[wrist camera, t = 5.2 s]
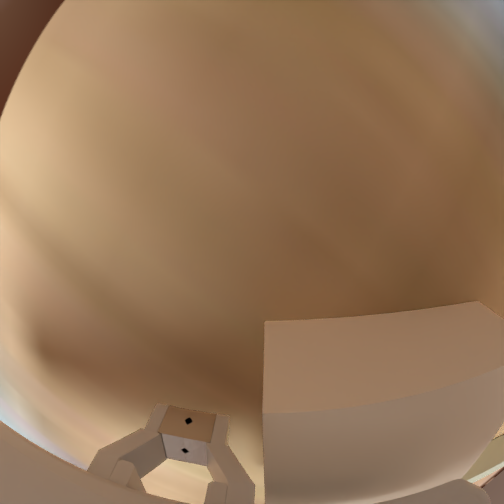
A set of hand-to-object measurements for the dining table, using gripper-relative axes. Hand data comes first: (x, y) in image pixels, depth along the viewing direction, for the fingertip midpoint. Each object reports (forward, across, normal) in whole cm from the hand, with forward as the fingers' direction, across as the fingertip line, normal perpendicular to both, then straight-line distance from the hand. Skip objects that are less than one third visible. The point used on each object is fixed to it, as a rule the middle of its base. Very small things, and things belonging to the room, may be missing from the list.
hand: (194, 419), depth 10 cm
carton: (+2, -8, 0) cm, 8 cm away
